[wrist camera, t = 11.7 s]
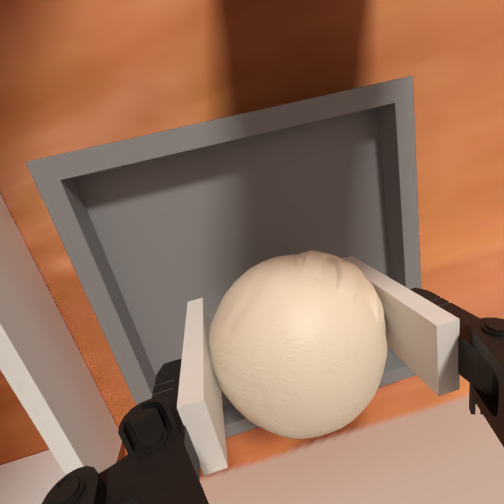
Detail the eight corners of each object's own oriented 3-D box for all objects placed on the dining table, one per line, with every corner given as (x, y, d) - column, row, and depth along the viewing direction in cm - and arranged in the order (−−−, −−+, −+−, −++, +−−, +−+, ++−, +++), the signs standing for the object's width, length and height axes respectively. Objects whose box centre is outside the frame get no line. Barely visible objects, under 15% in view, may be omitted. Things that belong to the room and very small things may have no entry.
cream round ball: (366, 282, 16) (478, 360, 9) (280, 378, 16) (328, 509, 10) (275, 203, 14) (338, 234, 7) (182, 317, 14) (166, 433, 8)
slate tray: (166, 424, 20) (161, 459, 18) (54, 162, 14) (25, 162, 12) (400, 349, 22) (424, 372, 19) (382, 88, 16) (412, 75, 14)
